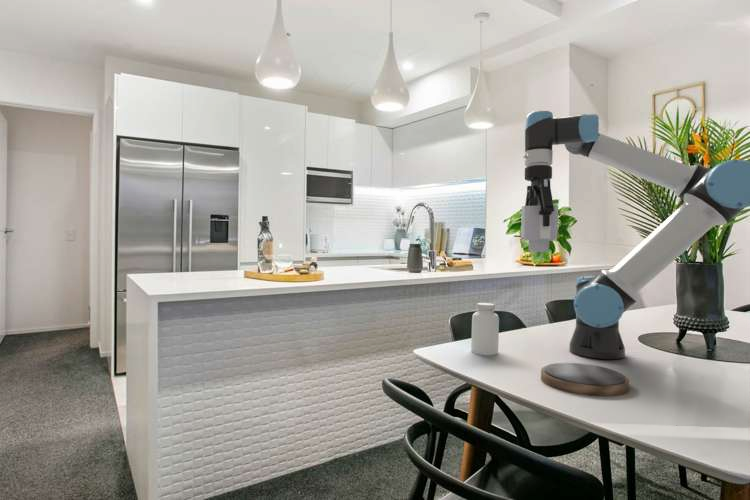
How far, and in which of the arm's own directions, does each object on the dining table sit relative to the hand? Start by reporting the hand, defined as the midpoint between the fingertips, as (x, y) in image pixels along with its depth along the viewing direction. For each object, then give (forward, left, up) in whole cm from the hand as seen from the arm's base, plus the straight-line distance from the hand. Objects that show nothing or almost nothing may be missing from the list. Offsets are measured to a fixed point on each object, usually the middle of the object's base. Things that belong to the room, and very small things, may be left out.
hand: (537, 239), depth 130 cm
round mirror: (-4, +24, -35) cm, 42 cm away
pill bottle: (+14, -4, -35) cm, 38 cm away
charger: (+1, +4, -6) cm, 7 cm away
